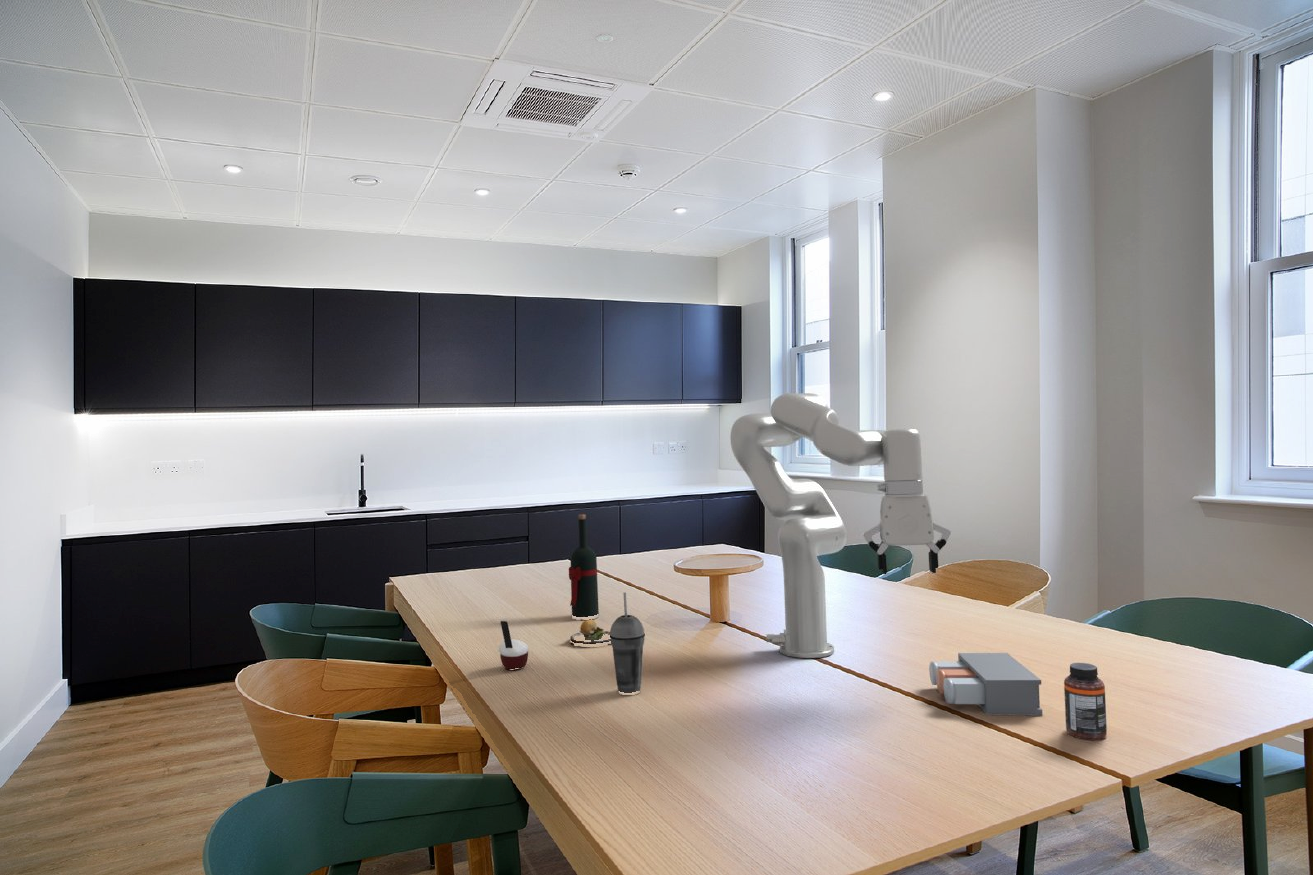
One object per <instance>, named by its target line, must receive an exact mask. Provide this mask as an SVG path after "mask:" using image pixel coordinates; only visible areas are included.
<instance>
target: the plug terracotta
mask: <svg viewBox="0 0 1313 875" xmlns="http://www.w3.org/2000/svg"><path fill="white" fill-rule="evenodd" d="M945 678H975V673H974V672H973V671H972V670H971V669H952V670H937V672H936V682H937V685H936V687H937V691H938V694H940V695H944V686H943V685H944V679H945Z"/></svg>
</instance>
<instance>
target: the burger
mask: <svg viewBox="0 0 1313 875" xmlns="http://www.w3.org/2000/svg"><path fill="white" fill-rule="evenodd" d="M603 634H604V635H605V634H608V635H610V631H608V630H607V631H605V630H604V629H603V628H601V627H599V626H598V623H597V621H595V619H593V620H591V619H589V620H584V621H582V623H581V625H580V630H579V632H577V633H574V634H572V635H570V637H569V638H570V639H569V641H570V640H571V641H572V642H574V643H583V644H596V643H603V642H609V641H611V639H608V640H603V641H594V640H599V639H601V638H602V636H603ZM580 635H584V637H585V640H591V642H584V641H576V640H574V637H575V636H580Z"/></svg>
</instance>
